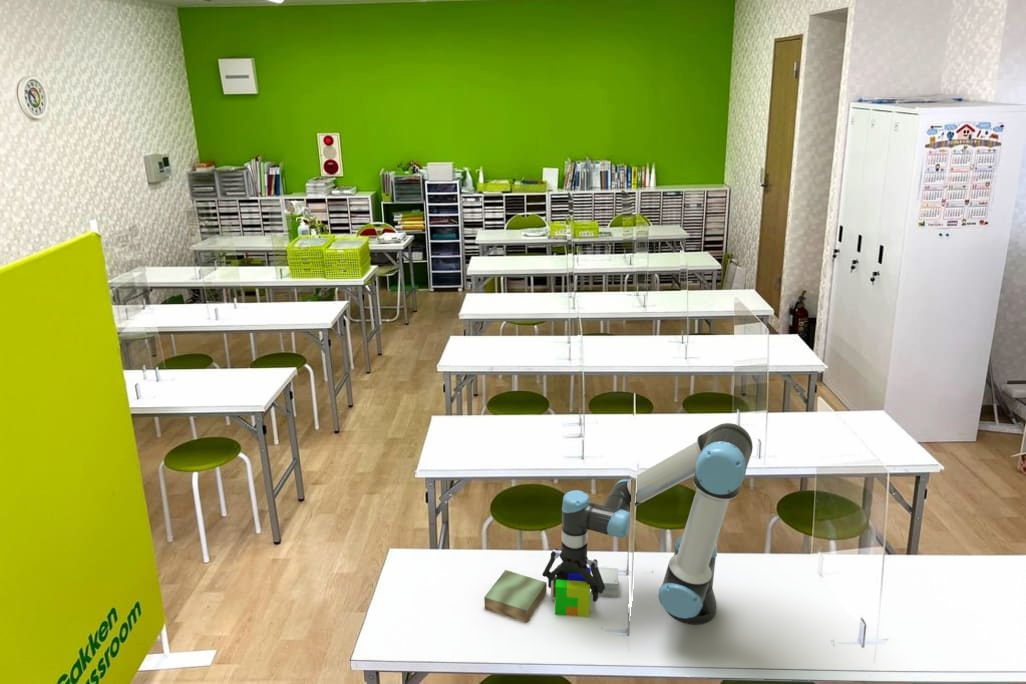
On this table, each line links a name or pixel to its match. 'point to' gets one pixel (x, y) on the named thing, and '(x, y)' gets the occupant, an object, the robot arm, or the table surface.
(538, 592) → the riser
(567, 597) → the puzzle toy
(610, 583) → the small box
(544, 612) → the table surface
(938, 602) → the table surface
